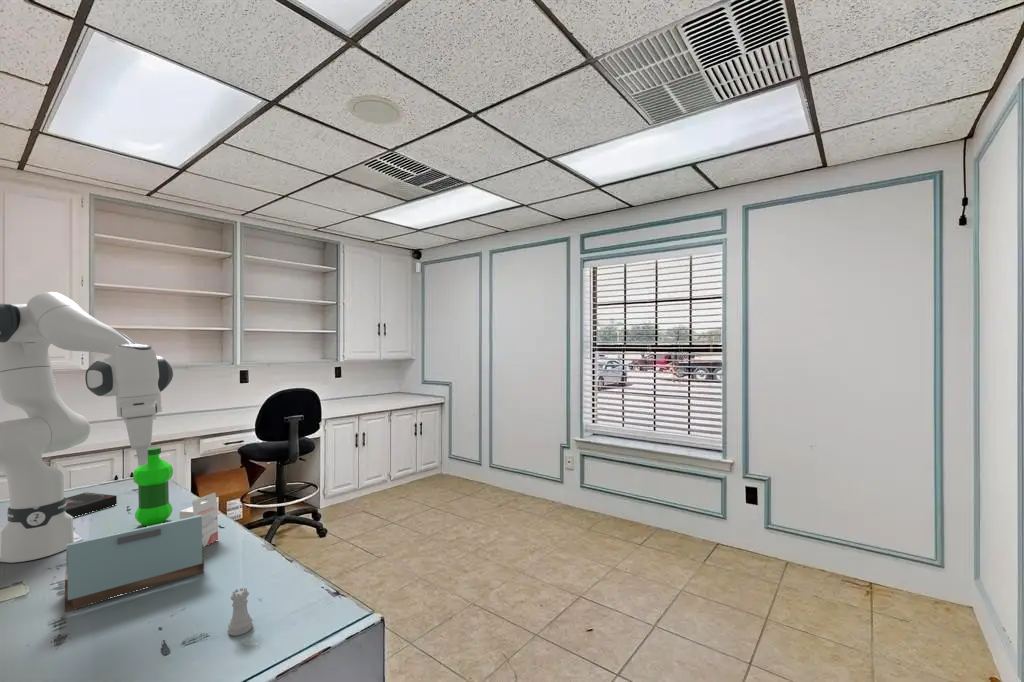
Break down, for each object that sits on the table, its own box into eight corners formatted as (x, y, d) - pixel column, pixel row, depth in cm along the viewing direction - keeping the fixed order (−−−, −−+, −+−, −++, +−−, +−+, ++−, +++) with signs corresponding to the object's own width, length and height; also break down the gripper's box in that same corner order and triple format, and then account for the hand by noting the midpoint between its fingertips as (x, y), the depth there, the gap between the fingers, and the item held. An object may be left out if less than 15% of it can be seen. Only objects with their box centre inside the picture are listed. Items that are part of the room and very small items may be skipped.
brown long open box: (67, 591, 113) (66, 549, 113) (196, 557, 131) (195, 521, 131) (65, 612, 104) (64, 566, 104) (203, 572, 122) (203, 533, 122)
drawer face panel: (68, 598, 104) (67, 544, 104) (201, 561, 121) (200, 514, 121) (67, 601, 103) (66, 546, 103) (203, 564, 119) (202, 516, 120)
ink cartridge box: (204, 539, 142) (203, 491, 143) (218, 540, 142) (217, 491, 142) (179, 552, 134) (178, 500, 134) (194, 553, 133) (193, 501, 133)
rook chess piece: (234, 624, 98) (233, 586, 98) (256, 623, 99) (256, 584, 99) (223, 637, 94) (222, 597, 94) (246, 636, 94) (245, 596, 94)
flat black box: (29, 518, 165) (29, 507, 165) (86, 502, 181) (86, 492, 181) (61, 523, 160) (61, 511, 160) (116, 506, 176) (116, 495, 176)
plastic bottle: (173, 524, 155) (172, 448, 155) (132, 532, 149) (131, 453, 149) (174, 515, 163) (173, 443, 164) (135, 522, 157) (134, 448, 158)
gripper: (125, 407, 125) (129, 459, 125) (121, 411, 109) (125, 471, 109) (155, 403, 129) (158, 454, 129) (155, 407, 113) (159, 465, 112)
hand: (143, 462), depth 118 cm, fingers open, 8 cm apart
